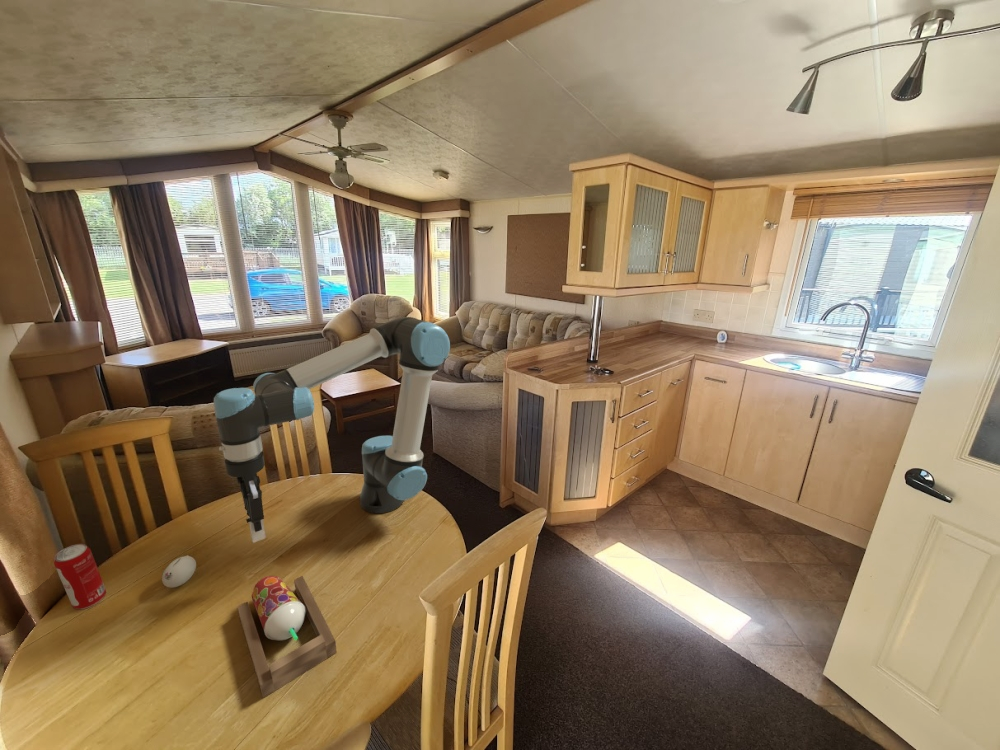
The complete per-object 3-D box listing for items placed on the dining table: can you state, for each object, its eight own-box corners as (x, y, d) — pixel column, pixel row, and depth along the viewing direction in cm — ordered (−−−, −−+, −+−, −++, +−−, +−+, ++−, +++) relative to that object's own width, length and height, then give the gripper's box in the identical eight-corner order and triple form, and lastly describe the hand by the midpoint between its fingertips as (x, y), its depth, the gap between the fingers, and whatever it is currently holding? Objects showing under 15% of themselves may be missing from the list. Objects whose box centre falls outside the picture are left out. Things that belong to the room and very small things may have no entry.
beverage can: (106, 586, 98) (90, 536, 93) (107, 602, 93) (90, 551, 89) (71, 599, 94) (53, 548, 89) (70, 617, 89) (51, 565, 85)
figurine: (181, 571, 103) (175, 550, 101) (205, 570, 103) (200, 549, 101) (158, 596, 95) (151, 574, 93) (184, 596, 96) (178, 574, 94)
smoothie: (266, 607, 97) (296, 662, 83) (237, 598, 91) (264, 655, 78) (291, 576, 100) (324, 623, 86) (265, 565, 95) (296, 614, 81)
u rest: (304, 586, 100) (301, 570, 99) (336, 652, 84) (334, 635, 83) (239, 617, 91) (236, 601, 90) (263, 698, 75) (259, 679, 74)
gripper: (219, 448, 92) (235, 531, 99) (230, 472, 83) (247, 561, 90) (255, 439, 97) (268, 519, 104) (269, 460, 88) (283, 546, 95)
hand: (258, 538), depth 97 cm, fingers closed
